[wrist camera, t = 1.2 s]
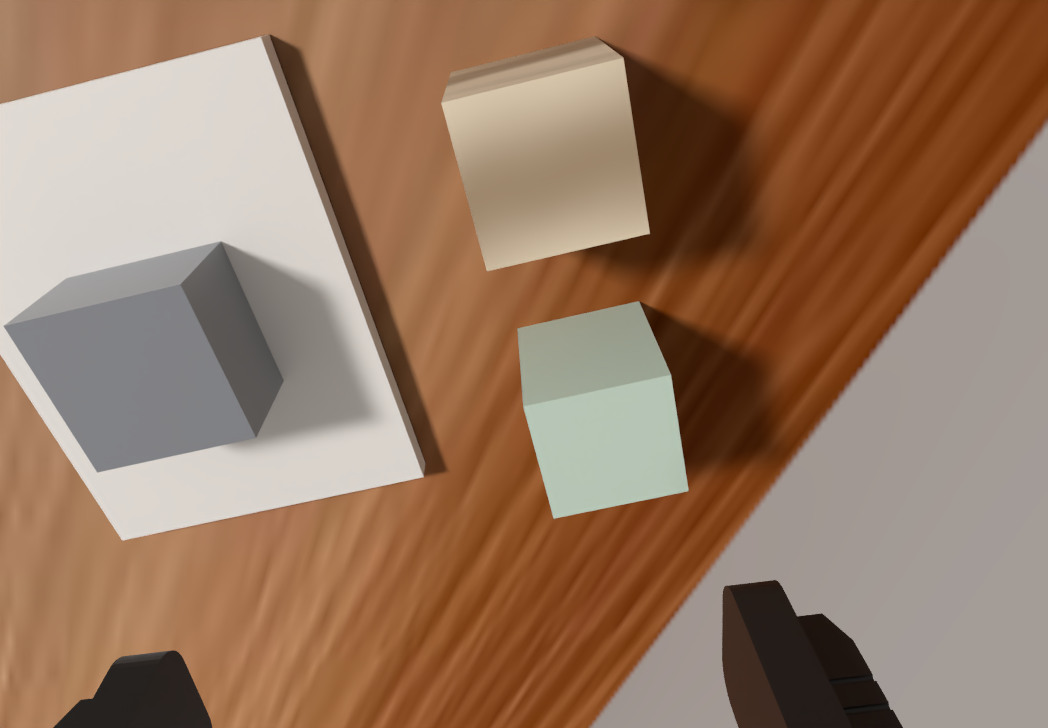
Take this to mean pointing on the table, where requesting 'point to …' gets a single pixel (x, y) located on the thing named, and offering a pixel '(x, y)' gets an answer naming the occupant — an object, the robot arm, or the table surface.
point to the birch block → (547, 152)
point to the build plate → (275, 238)
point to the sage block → (600, 410)
